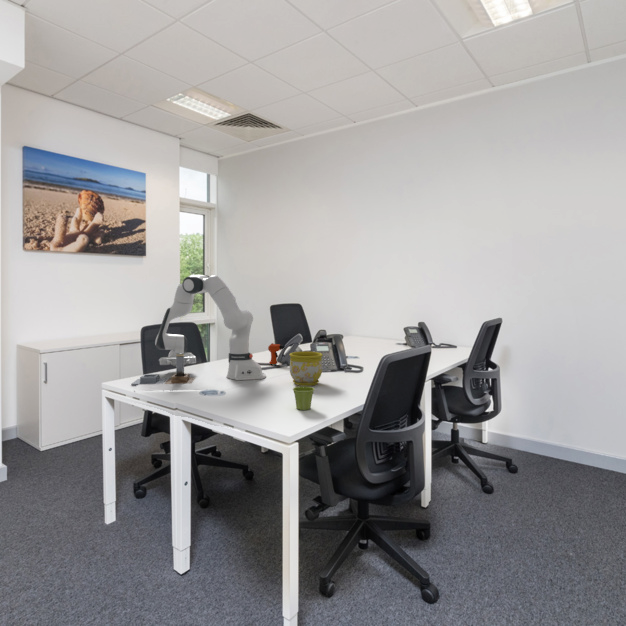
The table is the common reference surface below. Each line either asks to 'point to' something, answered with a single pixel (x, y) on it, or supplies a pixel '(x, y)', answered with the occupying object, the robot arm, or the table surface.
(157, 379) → the rack block
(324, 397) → the table surface
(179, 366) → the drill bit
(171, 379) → the socket block
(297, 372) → the flowerpot
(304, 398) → the plant pot
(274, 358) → the toy drill
